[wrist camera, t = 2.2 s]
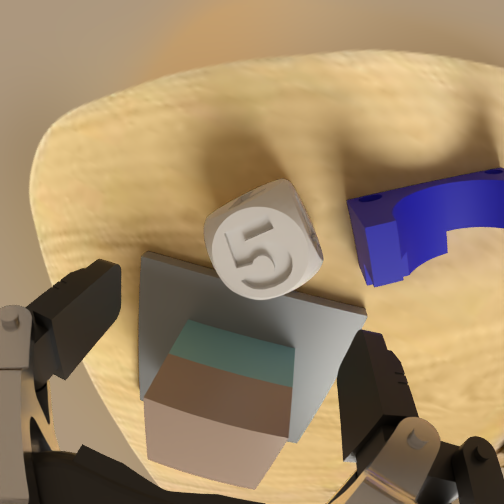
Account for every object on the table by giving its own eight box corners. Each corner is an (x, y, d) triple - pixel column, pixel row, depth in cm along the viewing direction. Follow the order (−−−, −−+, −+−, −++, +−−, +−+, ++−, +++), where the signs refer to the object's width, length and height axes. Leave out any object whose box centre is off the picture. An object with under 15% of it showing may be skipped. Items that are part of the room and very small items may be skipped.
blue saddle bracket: (358, 264, 20) (377, 313, 14) (345, 199, 18) (364, 227, 13) (503, 227, 17) (550, 258, 11) (499, 167, 16) (552, 183, 10)
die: (288, 173, 18) (284, 185, 14) (321, 244, 20) (327, 279, 15) (217, 206, 20) (191, 230, 15) (252, 272, 21) (238, 312, 16)
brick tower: (365, 308, 21) (391, 403, 12) (297, 435, 27) (290, 512, 19) (147, 250, 22) (73, 316, 13) (144, 393, 28) (106, 459, 19)
